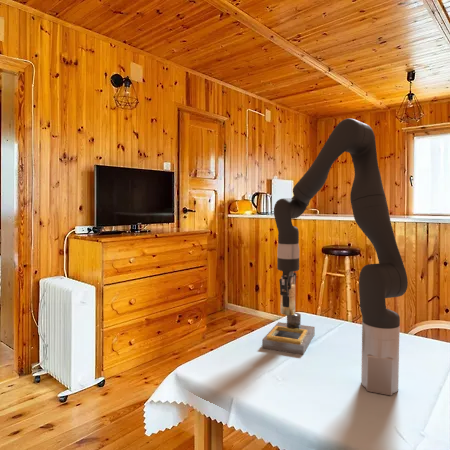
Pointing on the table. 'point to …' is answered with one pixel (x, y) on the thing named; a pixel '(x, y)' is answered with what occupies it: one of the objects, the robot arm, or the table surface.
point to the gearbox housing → (289, 336)
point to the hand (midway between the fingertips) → (288, 304)
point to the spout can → (291, 308)
